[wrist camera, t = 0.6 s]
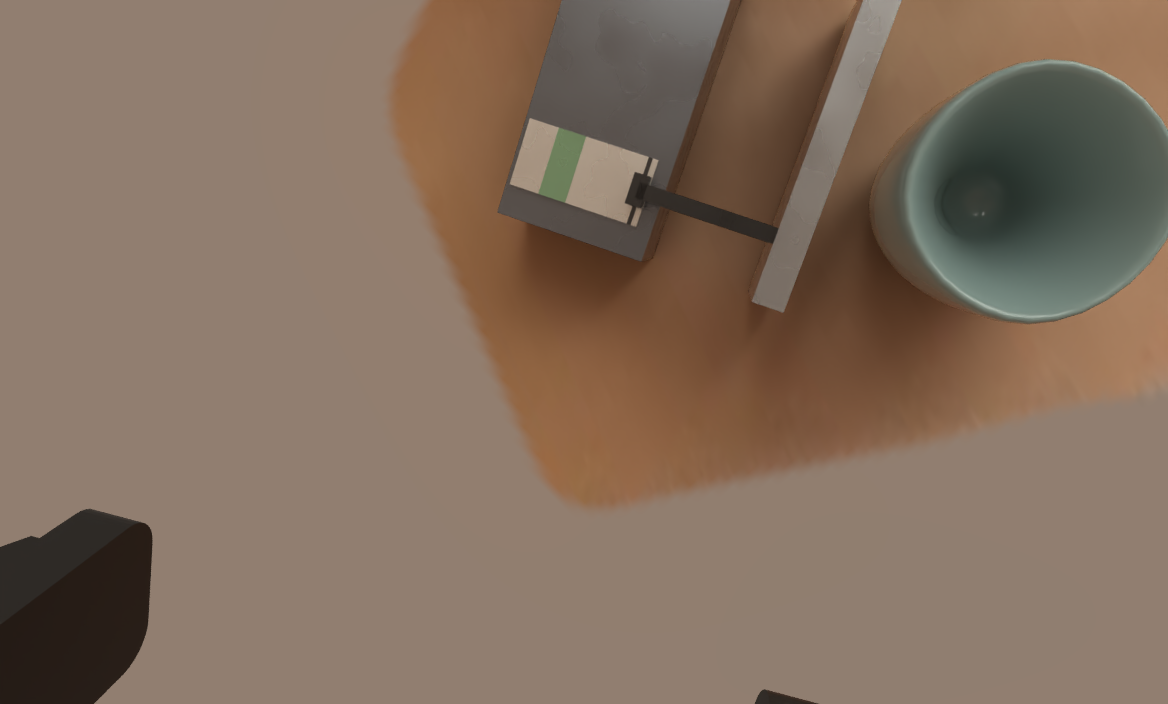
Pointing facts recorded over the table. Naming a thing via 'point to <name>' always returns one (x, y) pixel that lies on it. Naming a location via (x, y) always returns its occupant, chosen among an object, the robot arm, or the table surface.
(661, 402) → the table surface
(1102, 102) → the cup
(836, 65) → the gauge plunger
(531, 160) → the gauge housing
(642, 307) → the table surface
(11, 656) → the robot arm
